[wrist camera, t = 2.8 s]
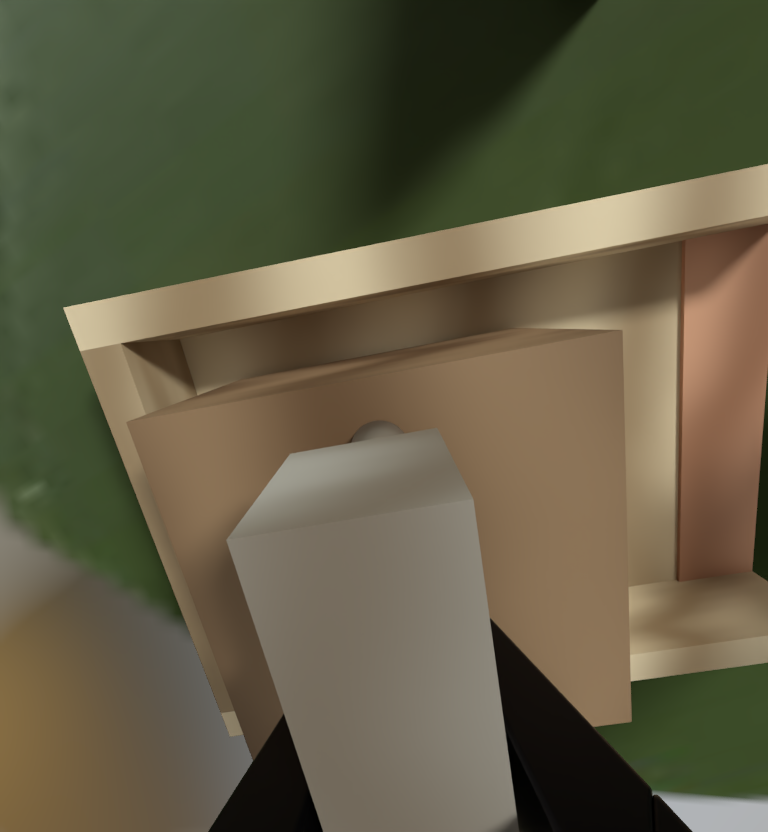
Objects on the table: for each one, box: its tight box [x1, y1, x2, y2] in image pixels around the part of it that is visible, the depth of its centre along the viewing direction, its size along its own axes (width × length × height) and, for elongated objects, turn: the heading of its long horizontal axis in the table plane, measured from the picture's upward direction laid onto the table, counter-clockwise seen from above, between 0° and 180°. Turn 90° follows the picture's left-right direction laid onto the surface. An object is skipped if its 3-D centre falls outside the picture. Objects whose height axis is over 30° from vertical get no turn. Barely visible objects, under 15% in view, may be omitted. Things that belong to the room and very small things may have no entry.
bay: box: [64, 164, 768, 737], centre depth 13 cm, size 22×16×4 cm
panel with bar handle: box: [126, 328, 632, 832], centre depth 9 cm, size 10×10×10 cm
